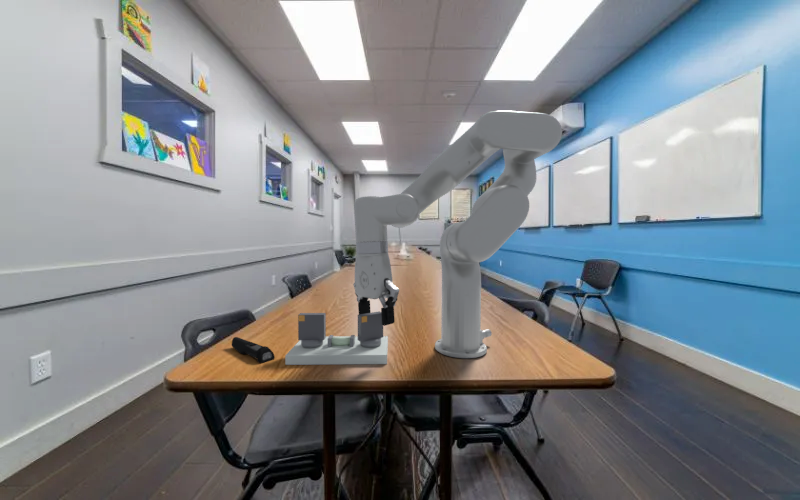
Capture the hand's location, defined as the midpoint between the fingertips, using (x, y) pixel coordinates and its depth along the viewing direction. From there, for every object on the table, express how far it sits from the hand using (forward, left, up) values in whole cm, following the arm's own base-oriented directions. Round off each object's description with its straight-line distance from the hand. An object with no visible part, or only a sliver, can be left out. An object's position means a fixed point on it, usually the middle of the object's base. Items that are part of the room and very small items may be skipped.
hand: (376, 320), depth 71 cm
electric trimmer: (+25, -16, -8) cm, 31 cm away
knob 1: (+13, -8, -6) cm, 16 cm away
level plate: (+7, -4, -8) cm, 11 cm away
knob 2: (+1, -1, -6) cm, 6 cm away
